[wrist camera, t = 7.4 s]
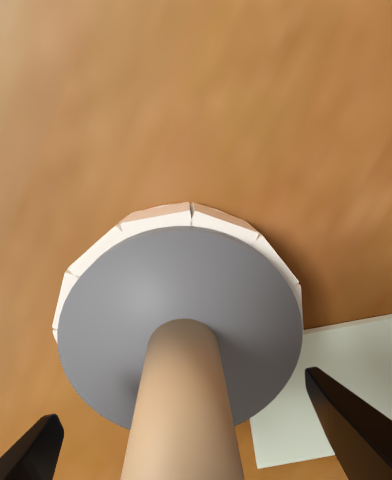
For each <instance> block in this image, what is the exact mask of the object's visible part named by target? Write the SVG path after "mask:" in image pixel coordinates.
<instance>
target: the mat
mask: <svg viewBox="0 0 392 480" xmlns="http://www.w3.org/2000/svg"><path fill="white" fill-rule="evenodd" d="M303 331H304V338H303V339H302V341H303V343H302V346H301V352H300V356H299V359H298V362H297V365H296V368H295V370H294V372H293V374H292V376H291V378H290V379H289V381H288V382H287V384H286V385H285V387H284V388H283V390H282V391H281V392H280V393H279V394H278V395H277V397H276V398H275V399H274V400H273V401H272V402H271V403H270V404H268V405H267V406H266V407H265V408H264V409H263V410H261V411H260V412H258V413H257V414H256V415H254V416H253V417H251V418H249V419H250V425H251V432H252V438H253V445H254V451H255V458H256V464H257V468H258V469H260V468H265V467H271V466H276V465H282V464H288V463H293V462H299V461H304V460H310V459H315V458H321V457H326V456H332V455H335V453H334V451H333V449H332V447H331V446H330V444H329V442H328V439H327V437H326V435H325V433H324V430H323V428H322V426H321V423H320V421H319V419H318V416H317V414H316V412H315V409H314V407H313V405H312V403H311V400H310V398H309V396H308V393H307V390H306V386H305V369H306V368H309V367H318V368H320V369H321V370H322V371H324V372H325V373H327V374H328V375H329V376H331V377H332V378H334V379H335V380H336V381H338V382H339V383H340V384H342V385H343V386H345V387H346V388H347V389H349V390H350V391H352V392H353V393H354V394H356V395H357V396H359V397H360V398H361V399H363V400H364V401H366V402H367V403H368V404H370V405H371V406H373V407H374V408H375V409H377V410H378V411H380V412H381V413H382V414H384V415H385V416H387V417H388V418H389V419H391V420H392V314H389V315H383V316H378V317H372V318H367V319H361V320H356V321H350V322H345V323H340V324H334V325H329V326H323V327H318V328H312V329H307V330H303Z"/></svg>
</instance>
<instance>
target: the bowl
mask: <svg viewBox="0 0 392 480" xmlns="http://www.w3.org/2000/svg"><path fill="white" fill-rule="evenodd" d="M170 226H195V227H203V228H209V229H213V230H217V231H220V232H224V233H227V234H229V235H231V236H234V237H236V238H238V239H240V240H242V241H244V242H245V243H247V244H249V245H250V246H252V247H253V248H255V249H256V250H257V251H258V252H260V253H261V254H262V255H263V256H265V258H266V259H267V260H268V261H269V262H270V263H271V264H272V265H273V266H274V267H275V268H276V269H277V270H278V272H279V273H280V274H281V275H282V276H283V277H284V279H285V280H286V282H287V283H288V285H289V286H290V288H291V290H292V292H293V294H294V296H295V298H296V300H297V303H298V306H299V309H300V313H301V319H302V326H303V314H302V297H301V285H300V284H299V281H298V280H297V278H296V277H295V276H294V275H293V273H292V272H291V271H290V270H289V268H288V267H287V266H286V264H285V263H284V262H283V261H282V259H281V258H280V257H279V256H278V254H277V253H276V252H275V251H274V249H273V248H272V247H271V246H270V244H269V243H268V242H267V240H266V239H265V238H264V237H263V235H261V234H260V233H259V232H258V231H257V230H256V229H254V228H253V227H252V226H251V225H250V224H249V223H247V222H246V221H245V220H242V219H239V218H236V217H234V216H231V215H230V214H228V213H225V212H223V211H221V210H218V209H216V208H212V207H209V206H205V205H200V204H197V203H194V202H192V203H189V202H184V203H172V204H163V205H159V206H155V207H151V208H148V209H145V210H141V211H136V212H132V213H131V214H128V215H127V216H126V217H125V218H124V219H123V220H121V221H120V222H119V223H118V224H117V225H116V226H114V227H113V228H112V229H111V230H110V231H109V232H108V233H107V234H105V235H104V236H103V237H102V238H101V239H100V240H99V241H98V242H96V243H95V244H94V245H93V246H92V247H91V248H90V249H89V250H88V251H86V252H85V253H84V254H83V255H82V256H81V257H80V258H79V259H77V260H76V261H75V262H74V263H73V264H72V265H71V266H70V267H68V268H67V269H68V270H67V271H66V272H65V274H64V278H63V282H62V287H61V291H60V295H59V300H58V304H57V308H56V312H55V317H54V321H53V325H52V328H55V329H54V330H53V331H52V332H53V335H54V337H55V339H56V342H57V330H58V323H59V317H60V314H61V311H62V308H63V305H64V302H65V300H66V298H67V296H68V294H69V292H70V290H71V288H72V287H73V286H74V284H75V283H76V282H77V280H78V279H79V277H80V276H81V275H82V274H83V273H84V272H85V271H86V270H87V269H88V268H89V267H90V266H91V265H92V264H93V263H94V262H95V261H96V259H97V258H98V257H99V256H100V255H102V254H103V253H104V252H106V251H107V250H108V249H110V248H111V247H112V246H114V245H116V244H117V243H119V242H121V241H123V240H125V239H126V238H129V237H131V236H134V235H136V234H139V233H141V232H144V231H148V230H152V229H156V228H162V227H170ZM303 338H304V331H303ZM302 343H303V341H302Z"/></svg>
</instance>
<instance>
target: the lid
mask: <svg viewBox="0 0 392 480" xmlns="http://www.w3.org/2000/svg"><path fill="white" fill-rule="evenodd" d="M302 339H303V326H302V319H301V313H300V309H299V306H298V303H297V300H296V298H295V296H294V294H293V292H292V290H291V288H290V286H289V285H288V283H287V282H286V280H285V279H284V277H283V276H282V275H281V274H280V273H279V272H278V270H277V269H276V268H275V267H274V266H273V265H272V264H271V263H270V262H269V261H268V260H267V259H266V258H265V256H263V255H262V254H261V253H260V252H258V251H257V250H256V249H255V248H253V247H252V246H250V245H249V244H247V243H245V242H244V241H242V240H240V239H238V238H236V237H234V236H231V235H229V234H227V233H224V232H220V231H217V230H213V229H209V228H203V227H195V226H170V227H162V228H156V229H152V230H148V231H144V232H141V233H139V234H136V235H134V236H131V237H129V238H126V239H125V240H123V241H121V242H119V243H117V244H116V245H114V246H112V247H111V248H110V249H108V250H107V251H106V252H104V253H103V254H102V255H100V256H99V257H98V258H97V259H96V261H95V262H94V263H93V264H92V265H91V266H90V267H89V268H88V269H87V270H86V271H85V272H84V273H83V274H82V275H81V276H80V277H79V279H78V280H77V282H76V283H75V284H74V286H73V287H72V288H71V290H70V292H69V294H68V296H67V298H66V300H65V302H64V305H63V308H62V311H61V314H60V317H59V323H58V330H57V345H58V351H59V357H60V361H61V364H62V367H63V370H64V372H65V374H66V376H67V378H68V380H69V382H70V384H71V385H72V386H73V388H74V389H75V391H76V392H77V394H78V395H79V396H80V397H81V398H82V399H83V400H84V401H85V402H86V403H87V404H88V405H89V406H90V407H91V408H92V409H94V410H95V411H96V412H97V413H99V414H100V415H102V416H103V417H105V418H106V419H108V420H109V421H111V422H113V423H115V424H117V425H119V426H121V427H124V428H126V429H129V430H130V435H129V440H128V445H127V450H126V455H125V460H124V465H123V470H122V474H121V479H120V480H244V474H243V469H242V464H241V459H240V454H239V449H238V444H237V439H236V433H235V428H234V426H236V425H238V424H240V423H242V422H244V421H246V420H248V419H249V418H251V417H253V416H254V415H256V414H257V413H258V412H260V411H261V410H263V409H264V408H265V407H266V406H267V405H268V404H270V403H271V402H272V401H273V400H274V399H275V398H276V397H277V395H278V394H279V393H280V392H281V391H282V390H283V388H284V387H285V385H286V384H287V382H288V381H289V379H290V378H291V376H292V374H293V372H294V370H295V368H296V365H297V362H298V359H299V356H300V352H301V346H302Z"/></svg>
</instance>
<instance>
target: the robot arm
mask: <svg viewBox="0 0 392 480" xmlns="http://www.w3.org/2000/svg"><path fill="white" fill-rule="evenodd" d="M305 386H306V390H307V393H308V396H309V398H310V400H311V403H312V405H313V407H314V409H315V412H316V414H317V416H318V419H319V421H320V423H321V426H322V428H323V430H324V433H325V435H326V437H327V439H328V442H329V444H330V446H331V447H332V449H333V451H334V453H335V455H336V457H337V459H338V461H339V462H340V464H341V466H342V468H343V470H344V472H345V473H346V475H347V477H348V479H349V480H392V420H391V419H389V418H388V417H387V416H385V415H384V414H382V413H381V412H380V411H378V410H377V409H375V408H374V407H373V406H371V405H370V404H368V403H367V402H366V401H364V400H363V399H361V398H360V397H359V396H357V395H356V394H354V393H353V392H352V391H350V390H349V389H347V388H346V387H345V386H343V385H342V384H340V383H339V382H338V381H336V380H335V379H334V378H332V377H331V376H329V375H328V374H327V373H325V372H324V371H322V370H321V369H320V368H318V367H309V368H306V369H305ZM63 438H64V429H63V427H62V425H61V422H60V420H59V418H58V416H57V415H56V414H50V415H45V416H43V417H42V418H40V419H39V420H38V421H37V422H36V423H35V424H34V425H33V426H32V427H31V428H30V429H29V430H28V431H27V432H26V433H25V434H24V435H23V436H22V437H21V438H20V439H19V440H18V441H17V442H16V443H15V444H14V445H13V446H12V447H11V448H10V449H9V450H8V451H7V452H6V453H5V454H4V455H3V456H2V457H1V458H0V480H52V479H53V476H54V472H55V468H56V464H57V461H58V457H59V453H60V449H61V446H62V442H63Z"/></svg>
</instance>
